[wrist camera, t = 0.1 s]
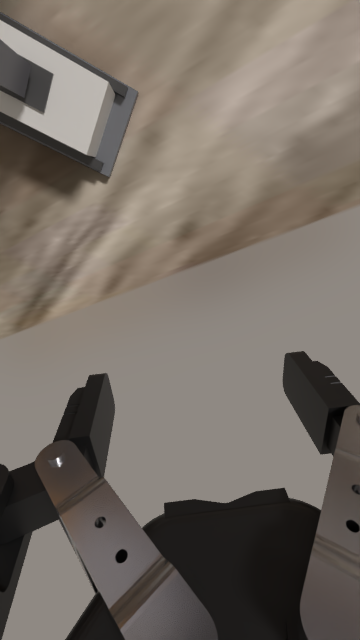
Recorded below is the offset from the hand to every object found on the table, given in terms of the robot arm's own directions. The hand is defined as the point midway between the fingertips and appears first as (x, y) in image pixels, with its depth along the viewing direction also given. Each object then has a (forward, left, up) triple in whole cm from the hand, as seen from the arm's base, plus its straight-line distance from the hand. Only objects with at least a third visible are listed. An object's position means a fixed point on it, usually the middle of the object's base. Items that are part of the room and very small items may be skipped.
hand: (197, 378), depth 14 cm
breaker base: (-17, -12, -29) cm, 36 cm away
